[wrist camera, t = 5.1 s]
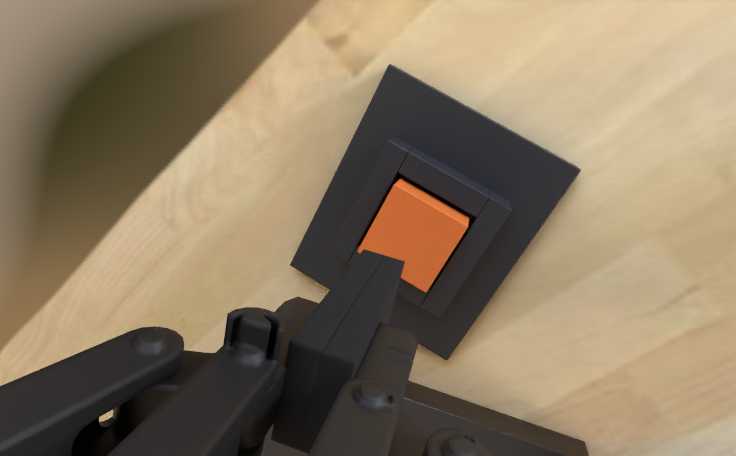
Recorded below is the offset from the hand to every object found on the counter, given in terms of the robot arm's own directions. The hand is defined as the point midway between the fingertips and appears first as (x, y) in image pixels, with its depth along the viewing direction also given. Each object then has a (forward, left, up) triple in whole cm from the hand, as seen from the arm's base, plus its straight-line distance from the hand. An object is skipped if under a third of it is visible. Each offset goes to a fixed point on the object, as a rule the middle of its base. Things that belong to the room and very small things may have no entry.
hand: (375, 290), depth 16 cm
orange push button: (0, 0, -11) cm, 11 cm away
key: (0, 0, -8) cm, 8 cm away
